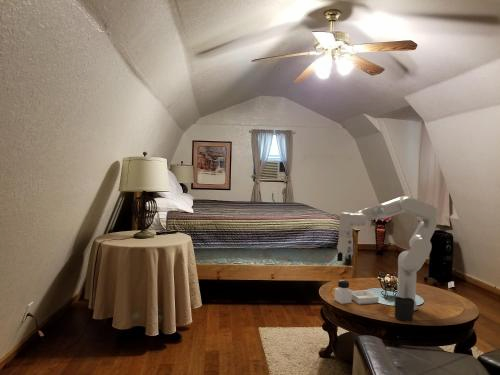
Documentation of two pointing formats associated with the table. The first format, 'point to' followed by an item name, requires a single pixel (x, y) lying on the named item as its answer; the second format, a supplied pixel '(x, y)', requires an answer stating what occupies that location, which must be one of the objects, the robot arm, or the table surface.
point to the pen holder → (404, 308)
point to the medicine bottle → (343, 292)
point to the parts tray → (364, 297)
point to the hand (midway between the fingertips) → (344, 263)
